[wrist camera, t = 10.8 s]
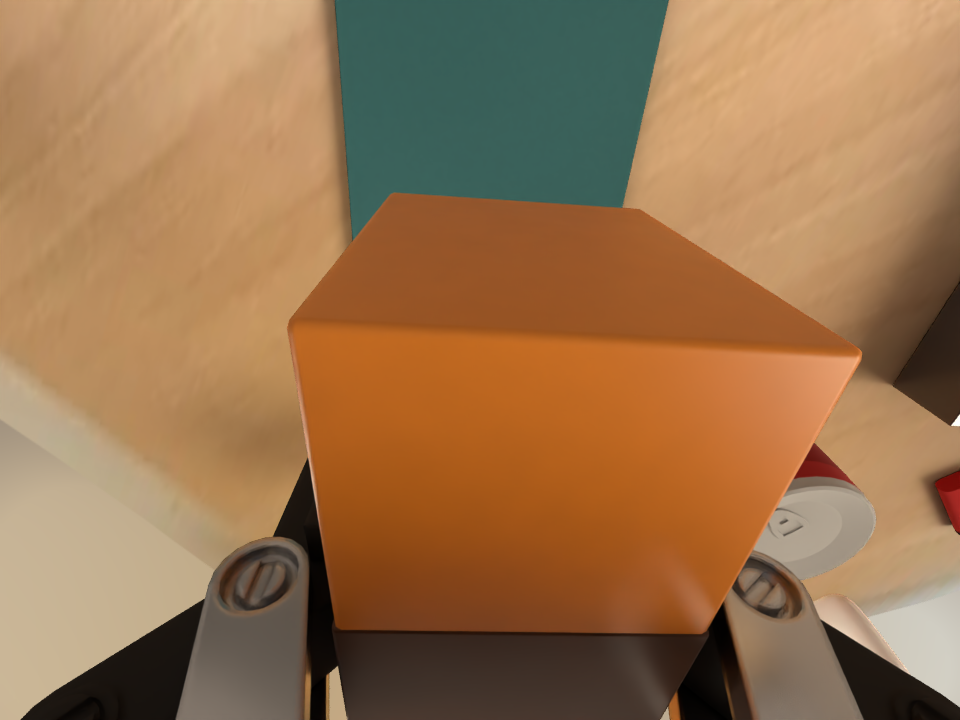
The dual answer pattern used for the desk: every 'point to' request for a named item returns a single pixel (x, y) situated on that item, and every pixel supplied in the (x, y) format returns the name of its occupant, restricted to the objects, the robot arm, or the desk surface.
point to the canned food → (818, 519)
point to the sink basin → (937, 366)
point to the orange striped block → (543, 453)
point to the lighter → (951, 497)
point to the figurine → (855, 625)
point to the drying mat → (494, 98)
